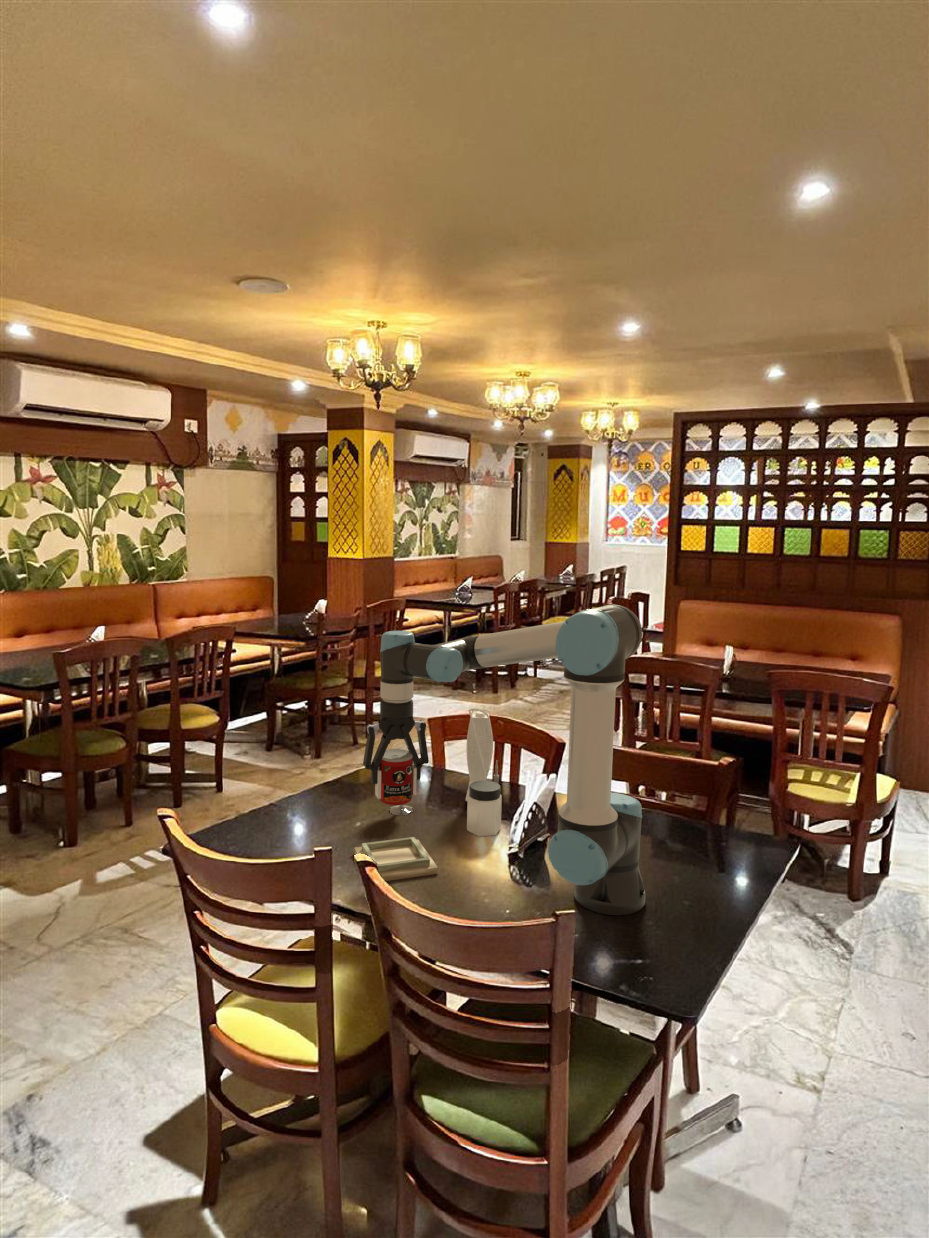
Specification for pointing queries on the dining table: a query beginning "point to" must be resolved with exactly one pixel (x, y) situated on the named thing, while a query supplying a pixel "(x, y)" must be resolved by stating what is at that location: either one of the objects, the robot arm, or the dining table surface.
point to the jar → (484, 808)
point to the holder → (399, 858)
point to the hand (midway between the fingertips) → (395, 794)
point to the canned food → (396, 777)
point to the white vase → (479, 747)
